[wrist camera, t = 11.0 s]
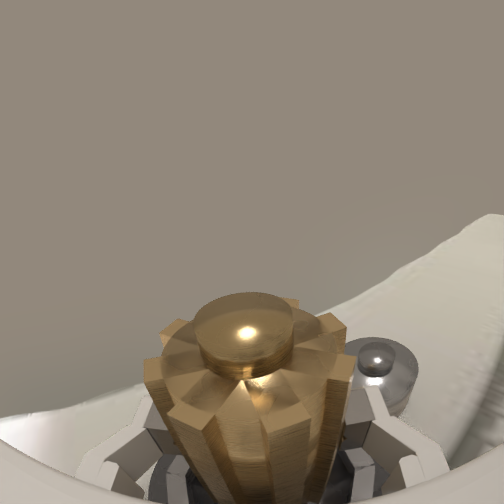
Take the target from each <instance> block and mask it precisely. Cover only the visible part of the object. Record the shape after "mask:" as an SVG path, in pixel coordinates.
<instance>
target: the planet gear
mask: <svg viewBox="0 0 504 504" xmlns="http://www.w3.org/2000/svg"><path fill="white" fill-rule="evenodd" d="M346 330H347V327H346V326H345V325H344V324H343V323H342V322H340V321H339V320H338V319H337V318H336V317H335V316H334V315H333V314H331V313H327V314H324V315H321V316H318V317H315V316H313V315H311V314H309V313H307V312H305V311H302V310H300V309H299V300H296V299H288V298H281V297H277V296H274V295H270V294H266V293H258V292H246V293H236V294H231V295H227V296H224V297H221V298H218V299H216V300H213V301H212V302H210V303H208V304H206V305H205V306H204V307H202V308H201V309H200V310H199V311H198V313H197V314H196V316H195V318H194V320H192V321H190V322H189V321H185V320H181V319H176V320H175V321H174V322H173V323H171V324H170V325H169V326H168V327H166V328H165V329H164V330H162V331H161V332H160V333H159V334H160V337H161V340H162V343H163V346H164V350H163V352H162V355H161V357H156V358H151V359H145V360H144V383H145V386H146V388H147V390H148V392H149V394H150V396H151V398H152V400H153V402H154V404H155V406H156V408H157V410H158V412H159V414H160V416H161V418H162V420H163V422H164V424H165V425H166V427H167V429H168V431H169V433H170V435H171V436H172V438H173V440H174V442H175V443H176V445H177V447H178V449H179V450H180V452H181V454H182V455H183V457H184V458H185V460H186V462H187V463H188V465H189V466H190V468H191V470H192V471H193V473H194V474H195V476H196V477H197V479H198V480H199V482H200V483H201V485H202V486H203V488H204V489H205V490H206V492H207V493H208V495H209V496H210V497H211V499H212V500H213V502H214V503H218V502H219V504H307V503H308V502H312V503H317V504H319V502H320V500H321V498H322V496H323V494H324V491H325V489H326V486H327V483H328V480H329V477H330V473H331V470H332V467H333V463H334V460H335V456H336V452H337V449H338V445H339V441H340V437H341V433H342V429H343V425H344V420H345V416H346V411H347V407H348V402H349V397H350V392H351V387H352V381H353V376H354V370H355V364H356V357H357V356H350V355H344V350H345V340H346Z"/></svg>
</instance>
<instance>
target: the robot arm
mask: <svg viewBox="0 0 504 504" xmlns="http://www.w3.org/2000/svg"><path fill="white" fill-rule="evenodd" d="M361 447H362V449H363V450H364V451H365V452H366V453H367V454H368V455H370V456H371V457H372V458H373V459H374V460H375V461H376V462H377V463H378V464H379V465H380V466H382V467H383V468H384V469H385V470H386V471H387V472H388V473H389V474H390V476H389V477H388V478H387V480H386V481H385V483H384V484H383V485H382V487H381V491H382V496H378V497H374V498H370V499H366V500H362V501H357V502H353V503H348V504H504V442H503V443H502V444H500V445H498V446H497V447H495V448H493V449H492V450H490V451H488V452H487V453H485V454H483V455H481V456H479V457H478V458H476V459H474V460H472V461H470V462H468V463H466V464H464V465H462V466H460V467H458V468H456V469H453V470H451V471H450V469H449V467H448V464H447V462H446V459H445V457H444V455H443V452H442V450H441V448H440V445H439V444H438V443H436V442H435V441H433V440H431V439H430V438H428V437H426V436H425V435H423V434H422V433H420V432H418V431H417V430H415V429H414V428H412V427H411V426H409V425H407V424H406V423H404V422H403V421H401V420H400V419H398V418H397V417H395V416H390V415H389V412H388V410H387V407H386V405H385V402H384V400H383V397H382V395H381V392H380V390H379V387H378V386H377V385H371V386H365V387H359V388H353V389H351V392H350V397H349V402H348V407H347V411H346V416H345V420H344V425H343V429H342V433H341V437H340V441H339V450H340V451H343V450H350V449H356V448H361ZM163 454H171V455H182V454H181V452H180V450H179V449H178V447H177V445H176V443H175V442H174V440H173V438H172V436H171V435H170V433H169V431H168V429H167V427H166V425H165V424H164V422H163V420H162V418H161V416H160V414H159V412H158V410H157V408H156V406H155V404H154V402H153V400H152V398H151V396H149V395H145V396H144V397H142V399H141V401H140V404H139V406H138V408H137V411H136V413H135V415H134V418H133V420H132V422H131V425H130V426H129V425H126V426H125V427H124V428H122V429H121V430H119V431H118V432H116V433H115V434H113V435H112V436H110V437H109V438H108V439H106V440H105V441H103V442H102V443H100V444H99V445H97V446H95V447H94V448H92V449H91V450H89V451H88V452H86V453H85V455H84V457H83V459H82V461H81V463H80V465H79V467H78V470H77V472H76V474H75V476H74V477H72V476H69V475H67V474H65V473H63V472H60V471H58V470H56V469H54V468H52V467H49V466H47V465H45V464H43V463H41V462H39V461H37V460H35V459H34V458H32V457H30V456H28V455H26V454H24V453H23V452H21V451H19V450H17V449H16V448H14V447H12V446H11V445H9V444H7V443H6V442H4V441H3V440H1V439H0V504H162V503H157V502H152V501H148V500H143V497H144V493H145V492H144V490H143V489H142V488H141V487H140V486H139V485H138V484H137V483H135V482H136V481H137V480H138V479H139V478H140V477H141V476H142V475H143V474H144V473H145V472H146V471H147V470H148V469H149V468H150V467H151V466H152V465H153V464H154V463H156V462H157V461H158V460H159V459H160V458H161V457H162V456H163ZM182 456H183V455H182Z"/></svg>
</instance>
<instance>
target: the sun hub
mask: <svg viewBox="0 0 504 504" xmlns="http://www.w3.org/2000/svg"><path fill="white" fill-rule="evenodd" d="M344 355H350V356H357V357H356V364H355V370H354V376H353V381H352V387H351V389H353V388H359V387H365V386H371V385H377V386H378V387H379V390H380V392H381V395H382V397H383V400H384V402H385V405H386V407H387V410H388V412H389V415H390V416H395V417H398V416H399V415H400V414H401V413H402V412H403V410H404V409H405V407H406V404H407V402H408V400H409V397H410V394H411V392H412V389H413V387H414V384H415V381H416V378H417V375H418V363H417V360H416V358H415V356H414V355H413V353H412V352H411V351H410V350H409V349H408V348H406V347H405V346H404V345H402V344H400V343H398V342H396V341H393V340H390V339H385V338H378V337H367V338H360V339H356V340H353V341H350V342H348V343H346V344H345V350H344Z"/></svg>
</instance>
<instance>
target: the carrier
mask: <svg viewBox="0 0 504 504" xmlns="http://www.w3.org/2000/svg"><path fill="white" fill-rule="evenodd" d="M389 476H390V474H389V473H388V472H387V471H386V470H385V469H384V468H383V467H382V466H380V465H379V464H378V463H377V462H376V461H375V460H374V459H373V458H372V457H371V456H370V455H368V454H367V453H366V452H365V451H364V450H363V449H362V447H361V448H356V449H350V450H343V451H340V450H339V445H338V449H337V452H336V456H335V460H334V463H333V467H332V470H331V473H330V477H329V480H328V483H327V486H326V489H325V491H324V494H323V496H322V498H321V500H320V502H319V504H348V503H353V502H357V501H362V500H366V499H370V498H374V497H378V496H382V491H381V487H382V485H383V484H384V483H385V481H386V480H387V478H388V477H389ZM148 501H152V502H157V503H162V504H219V502H218V503H214V502H213V500H212V499H211V497H210V496H209V495H208V493H207V492H206V490H205V489H204V488H203V486H202V485H201V483H200V482H199V480H198V479H197V477H196V476H195V474H194V473H193V471H192V470H191V468H190V466H189V465H188V463H187V462H186V460H185V458H184V457H183V456H182V455H171V454H163V456H162V457H161V458H160V459H159V460H158V462H157V464H156V466H155V468H154V471H153V474H152V476H151V480H150V485H149V493H148ZM307 504H317V503H312V502H308V503H307Z"/></svg>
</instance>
